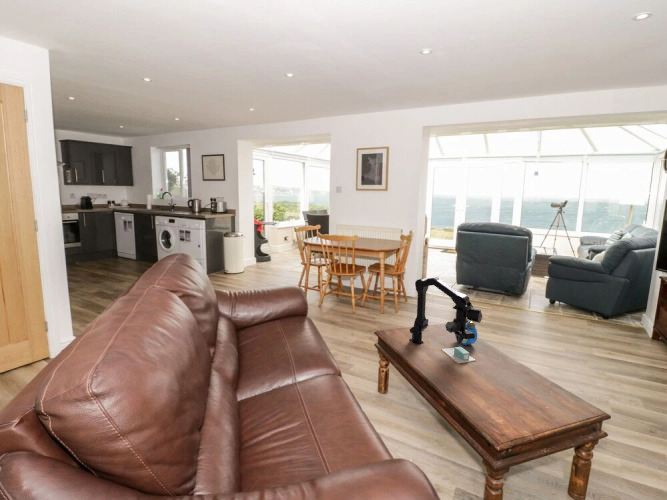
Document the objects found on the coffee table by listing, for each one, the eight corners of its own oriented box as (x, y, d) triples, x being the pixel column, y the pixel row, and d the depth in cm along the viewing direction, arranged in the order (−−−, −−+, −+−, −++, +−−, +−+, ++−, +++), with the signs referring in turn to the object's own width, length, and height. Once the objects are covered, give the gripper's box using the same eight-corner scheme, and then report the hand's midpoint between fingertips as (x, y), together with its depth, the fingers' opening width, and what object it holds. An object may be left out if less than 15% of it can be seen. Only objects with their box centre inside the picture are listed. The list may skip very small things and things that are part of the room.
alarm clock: (454, 339, 222) (456, 316, 219) (463, 338, 224) (465, 315, 221) (468, 348, 210) (470, 324, 207) (476, 347, 212) (479, 323, 209)
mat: (441, 350, 207) (441, 349, 207) (458, 348, 210) (458, 347, 210) (457, 363, 192) (458, 362, 192) (475, 361, 195) (475, 360, 195)
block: (454, 347, 201) (463, 353, 193) (460, 346, 202) (469, 353, 194) (453, 354, 202) (462, 360, 194) (460, 353, 203) (469, 359, 195)
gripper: (438, 313, 204) (437, 338, 207) (458, 325, 186) (456, 353, 189) (456, 311, 207) (453, 337, 210) (476, 323, 189) (474, 351, 192)
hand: (458, 344), depth 200 cm, fingers closed
